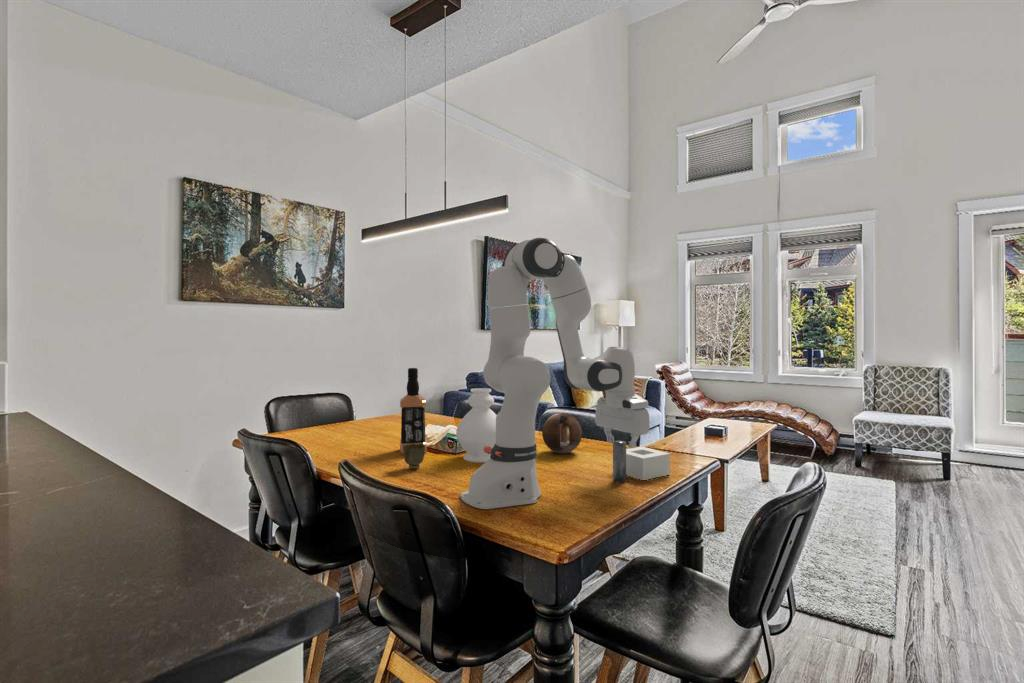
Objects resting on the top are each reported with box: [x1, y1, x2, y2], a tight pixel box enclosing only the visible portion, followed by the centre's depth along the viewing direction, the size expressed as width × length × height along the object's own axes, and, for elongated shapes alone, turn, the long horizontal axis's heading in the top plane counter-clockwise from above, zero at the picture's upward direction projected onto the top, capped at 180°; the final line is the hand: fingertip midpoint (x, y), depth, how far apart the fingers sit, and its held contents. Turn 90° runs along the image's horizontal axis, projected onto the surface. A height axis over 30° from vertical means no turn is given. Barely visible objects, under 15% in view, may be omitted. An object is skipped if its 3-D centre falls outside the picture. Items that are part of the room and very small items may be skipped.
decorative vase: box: [455, 387, 497, 463], centre depth 187 cm, size 18×18×25 cm
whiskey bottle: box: [399, 367, 428, 456], centre depth 197 cm, size 10×10×32 cm
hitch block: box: [626, 446, 671, 481], centre depth 166 cm, size 12×12×7 cm
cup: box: [403, 443, 426, 471], centre depth 172 cm, size 8×7×8 cm
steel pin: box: [612, 440, 627, 484], centre depth 158 cm, size 4×4×12 cm
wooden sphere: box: [541, 412, 583, 454], centre depth 195 cm, size 15×15×15 cm
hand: (621, 444), depth 158 cm, fingers open, 8 cm apart
